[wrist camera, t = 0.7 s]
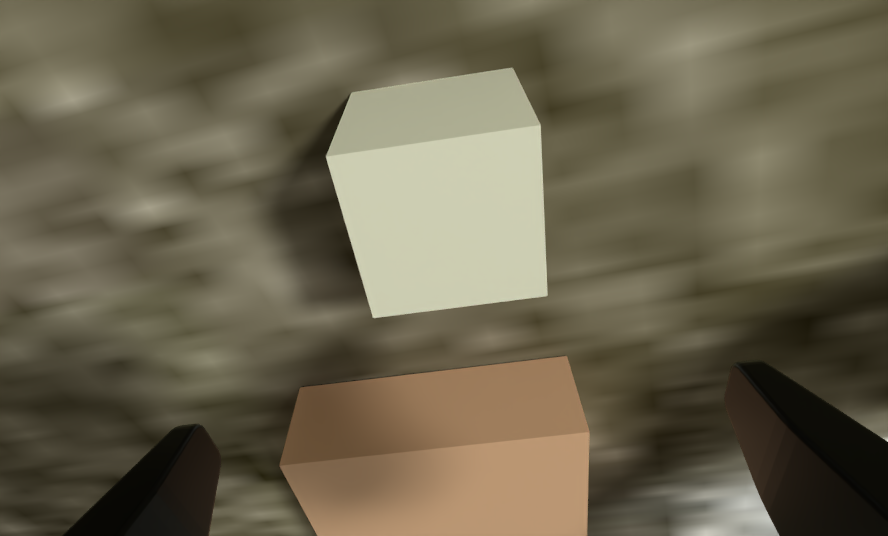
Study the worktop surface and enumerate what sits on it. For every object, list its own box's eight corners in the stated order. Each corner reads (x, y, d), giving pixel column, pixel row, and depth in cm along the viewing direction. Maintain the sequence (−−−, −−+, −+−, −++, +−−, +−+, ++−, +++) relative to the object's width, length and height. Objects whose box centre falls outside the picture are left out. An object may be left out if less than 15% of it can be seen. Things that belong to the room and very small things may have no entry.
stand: (566, 355, 23) (589, 431, 20) (568, 506, 30) (586, 581, 27) (299, 387, 24) (279, 465, 21) (361, 526, 31) (353, 602, 27)
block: (512, 67, 16) (540, 124, 12) (521, 209, 19) (547, 295, 15) (351, 91, 16) (325, 156, 12) (385, 228, 19) (373, 318, 15)
